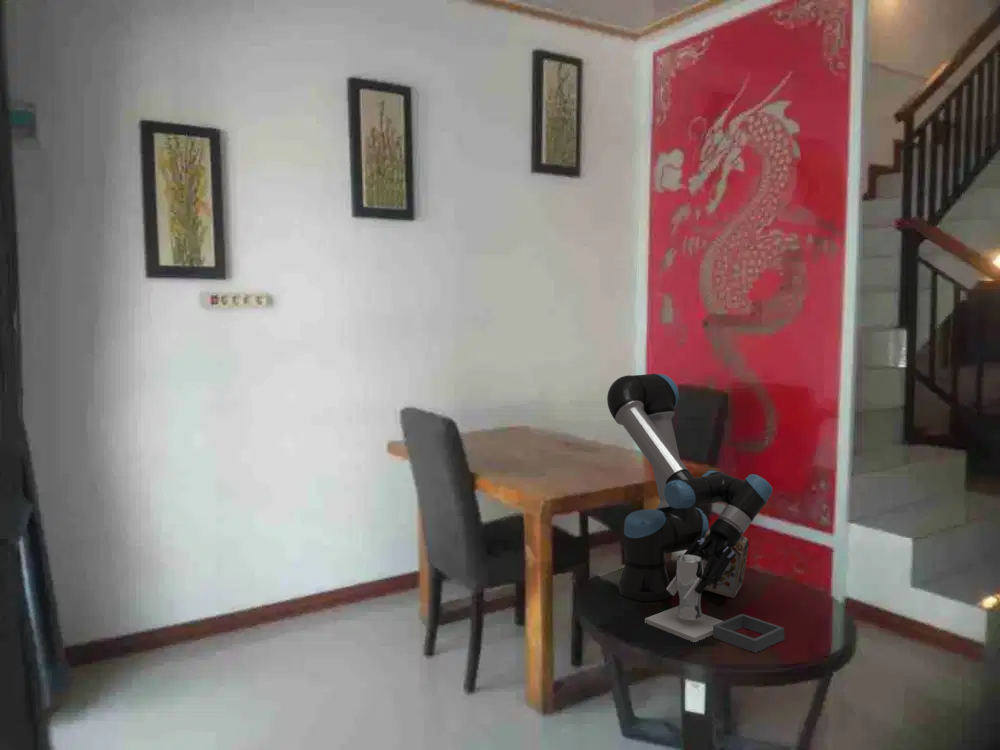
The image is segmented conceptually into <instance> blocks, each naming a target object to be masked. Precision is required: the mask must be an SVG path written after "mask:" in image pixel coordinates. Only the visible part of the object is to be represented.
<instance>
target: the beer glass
mask: <svg viewBox="0 0 1000 750" xmlns="http://www.w3.org/2000/svg"><path fill="white" fill-rule="evenodd" d="M675 564H676V565H675V574H676V582H677V588H678V591H677V592H678V601H679V603H678V604H679V605H678V606H679V609H678V616H679V617H681V618H684V619H688V620H696V619H700V618H701V617H702V614H703V612H702V606H701V601H702V595H703V594H702V593H703V592H702V593H701V594H699V595H698V597H697V598H696V599H695V601H694V602H693V604H692V605H690V604H689V603H688V602H687V601H686V600H684V599H683V598H684V596H685V595H686V593H687V592H688V591H689V589H690V588H691V587H692V585H693V584H694V582H695V581H696V580H697V579H698V578H700V575H702V574H703V572H704V568H703V558H702V557H700V556H697V555H689V554H686V555H684V554H680V555H678V556H676V563H675ZM700 579H701V578H700ZM701 580H702V579H701Z"/></svg>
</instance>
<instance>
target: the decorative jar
mask: <svg viewBox="0 0 1000 750" xmlns="http://www.w3.org/2000/svg"><path fill="white" fill-rule="evenodd" d="M709 534H710V528H709V530H708V531H707V532H706V534H705V537H707V536H708V535H709ZM705 537H704V538H705ZM749 548H750V543H749V539H748V538H747V537H745V536H744V534H741V538H740V539H739V541H738V542H737V543H736V545H735V546H733V547H730V549H731V550H732V551H733V552H734V553H735V554H736V556H735V557H734V558H733V559H732V560H731V561H730V563H729V564H728V566H727V567H726V569H725V571H724V572H723V574H722V576H721V577H720V579H719V580H718V582H717V584H716V585H713V584H709V585H707V586H706V588H705V589H704V590H703V591H707V592H710V593H714V594H717V595H721V596H724V597H727V598H731V599H735V598H736V596H737V594H738V593H739V591H740V589H741V588H742V586H743V582H744V576H745V572H746V566H747V565H746V564H747V559H748V552H749ZM708 559H709V557H708V558H705V559H703V568H704V569H705V567H706V564H707V562H708ZM713 578H714V577H713Z"/></svg>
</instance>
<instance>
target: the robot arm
mask: <svg viewBox="0 0 1000 750" xmlns="http://www.w3.org/2000/svg"><path fill="white" fill-rule="evenodd" d="M679 399H680V394H679V388H678V386H677V385H676V382H675V381H674V380H673V379H672V378H671V377H670V376H668V375H666V374H662V373H649V374H646V373H645V374H637V375H636V374H635V375H623V376H621V377H618V378H617V379H616V380H614V381H613V383H612V384H611V385H610V387H609V389H608V392H607V396H606V401H607V402H606V403H607V408H608V410H609V413H610V415H611V417H612V418H613V419H614V421H615V423H617V424H618V425H620V426H621V425H622V426H623V428H624V430H625V431H626V432H627V433H628V435H630V437H631V439H632V440H633V441H634V443H635V444H636V446H637V447H638V448H639V450H640V451H641V453H642V454H643V455H644V457H645V459H646V460H647V461H648V463H649V464H650V466H651V467H652V469H653V470H652V471H653V475H654V480H655V485H656V488H657V494H658V498H659V503H658V504H657V506H656V507H655V508H656V509H655V508H654V509H653V508H651V509H649V508H647V509H640V510H635V511H632V512H630V513H629V514H628V515H627V516H626V517H625V519H624V528H623V533H624V567H623V570H622V573H621V576H620V580H619V582H618V592H619V594H620V596H622V597H624V598H625V599H626V598H627V599H631V600H634V601H640V602H658V601H663V600H667V599H669V598H670V597H671V596H675V595H676V594H677V592H678V588H677V582H676V573H675V575H674V576H673V577H672V580H671V581H670V579H669V575H668V571H667V568H666V555H667V554H672V553H676V552H681V551H683V552H684V551H685V553H683V555H686V554H689V555H697V556H700V557H702V558H703V559H705V558H708V557H709V559H708V562H707V564H706V567H705V569H704V572H703V574H702V575H700V578H701V579H702V580H701V579H700V578H698V579H697V580H696V581H695V582H694V584H693V585H692V587H691V588H690V589H689V591H688V592H687V593H686V595H685V596H684V598H683V599H684V600H686V601H687V602H688V603H689V604H690V605H692V604H693V602H694V601H695V599H696V598H697V597H698V595H699V594H701V593H703V591H705V590H704V589H705V588H706V586H707V585H709V584H713V585H716V584H717V582H718V580H719V579H720V577H721V576H722V574H723V572H724V571H725V569H726V567H727V566H728V564H729V563H730V561H731V560H732V559H733V558H734V557H735V556H736V554H735V553H734V552H733V551H732V550H731V549H730V547H733V546H735V545H736V543H737V542H738V541H739V539H740V538H741V535H744V533H745V532H746V530H748V528H749V526H750V525H751V523H752V522H753V521H754V519H755V518H756V516H757V515H758V514H759V513H760V512H761V510H762V508H764V506H765V505H766V504H767V502H768V500H769V499H770V498H771V495H772V493H773V491H774V490H773V486H772V485H771V484H770V483H769V482H768V480H766V479H765V478H763V477H761V475H758V474H754V473H752V474H749V475H747V477H746V478H744V479H740V478H737V477H734V476H731V475H729V474H727V473H725V472H722V471H717V470H707V471H706V472H705V473H703V474H702V476H698V477H697V476H696V477H694V476H693V474H692V473H691V472H690V470H688V468H687V466H686V465H685V464H684V463H683V460H681V457H680V451H679V448H678V445H677V440H676V435H675V430H674V426H673V422H672V419H673V417H674V416H675V413H676V412H675V411H676V410H675V408H676V407H677V405H678V403H679ZM715 503H724V504H726V506H725V507H724V508H723V509H722V511H721V512H720V513H719V515H718V518H716V519H715V520H714V522H713V523H712V524H711V526H710V525H709V520H708V517H707V516H706V513H704V511H703V510H702V509H701V508H698V506H704V505H705V506H706V505H711V504H715ZM709 526H710V527H709ZM709 529H710V534H709V535H708V536H707V537H705V534H706V532H707V531H708V530H709ZM704 537H705V538H704ZM713 577H714V578H713ZM701 595H702V594H701Z"/></svg>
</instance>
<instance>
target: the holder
mask: <svg viewBox="0 0 1000 750" xmlns="http://www.w3.org/2000/svg"><path fill="white" fill-rule="evenodd" d="M722 621H723V622H721V623H718V624H716V625H713V635H712V638H713V637H714V639H717V640H719V641H722V642H724V643H727V644H730V645H732V646H734V647H736V648H739V649H742V648H743V649H742V650H745V649H746V650H745V651H748V650H749V651H748V652H750V651H752V652H751V653H753V652H754V653H753V654H755V653H756V654H757V652H758V651H760V652H762V651H764V650H766V649H768V648H770V647H772V646H771V645H773V646H775V645H777V644H779V643H781V642H783V641H785V627H782V626H780V625H777V624H774V623H771V622H767V621H765V620H762V619H759V618H756V617H754V616H750V615H747V614H745V613H739V614H738V615H736V616H733V617H731V618H728V619H726V620H722ZM742 628H744V629H748V630H750V631H752V632H756V633H759V634H761V635H759V636H757V637H755V638H753V637H750V636H748V635H745V634H743V633H740V632H737V630H740V629H742ZM780 641H781V642H780ZM778 642H779V643H778ZM776 643H777V644H776ZM774 644H775V645H774ZM769 646H770V647H769ZM767 647H768V648H767ZM765 648H766V649H765ZM763 649H764V650H763ZM761 650H762V651H761ZM758 653H759V652H758Z"/></svg>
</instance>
